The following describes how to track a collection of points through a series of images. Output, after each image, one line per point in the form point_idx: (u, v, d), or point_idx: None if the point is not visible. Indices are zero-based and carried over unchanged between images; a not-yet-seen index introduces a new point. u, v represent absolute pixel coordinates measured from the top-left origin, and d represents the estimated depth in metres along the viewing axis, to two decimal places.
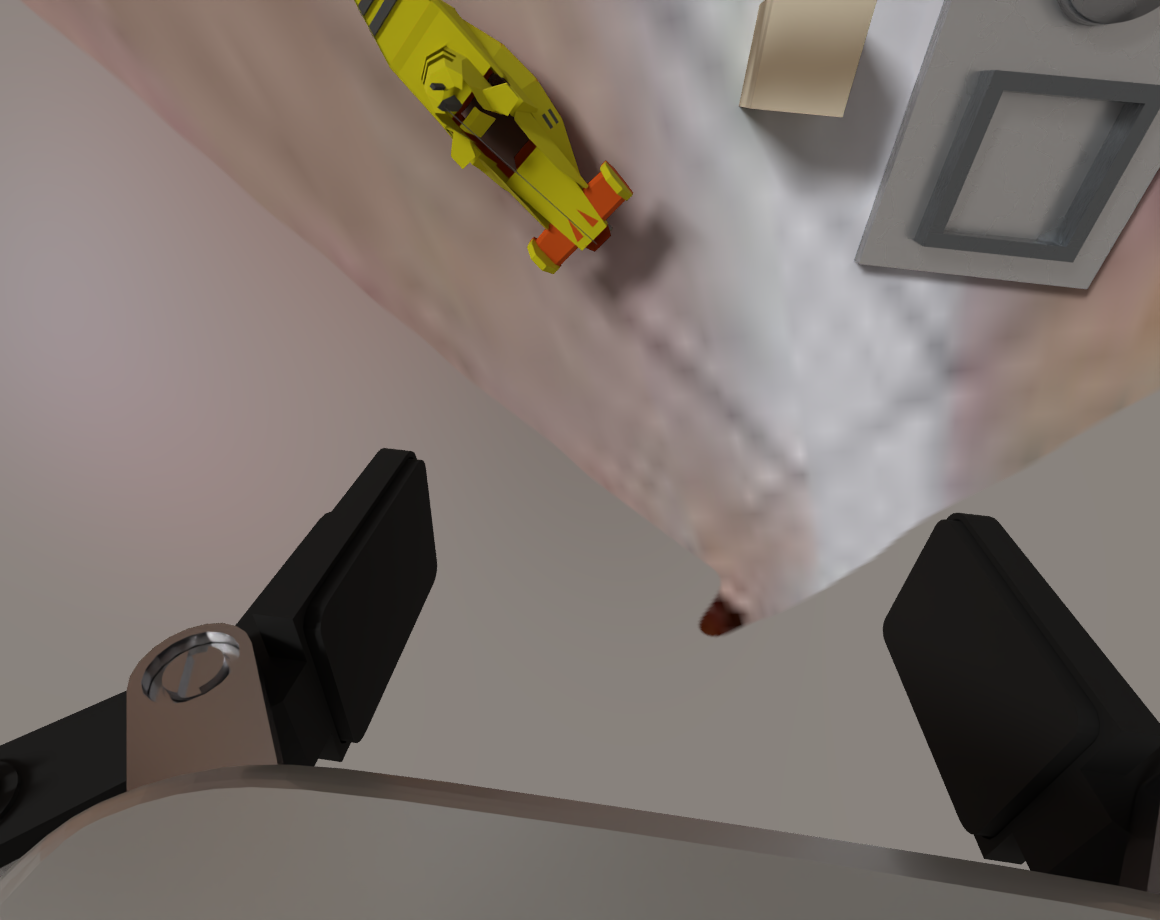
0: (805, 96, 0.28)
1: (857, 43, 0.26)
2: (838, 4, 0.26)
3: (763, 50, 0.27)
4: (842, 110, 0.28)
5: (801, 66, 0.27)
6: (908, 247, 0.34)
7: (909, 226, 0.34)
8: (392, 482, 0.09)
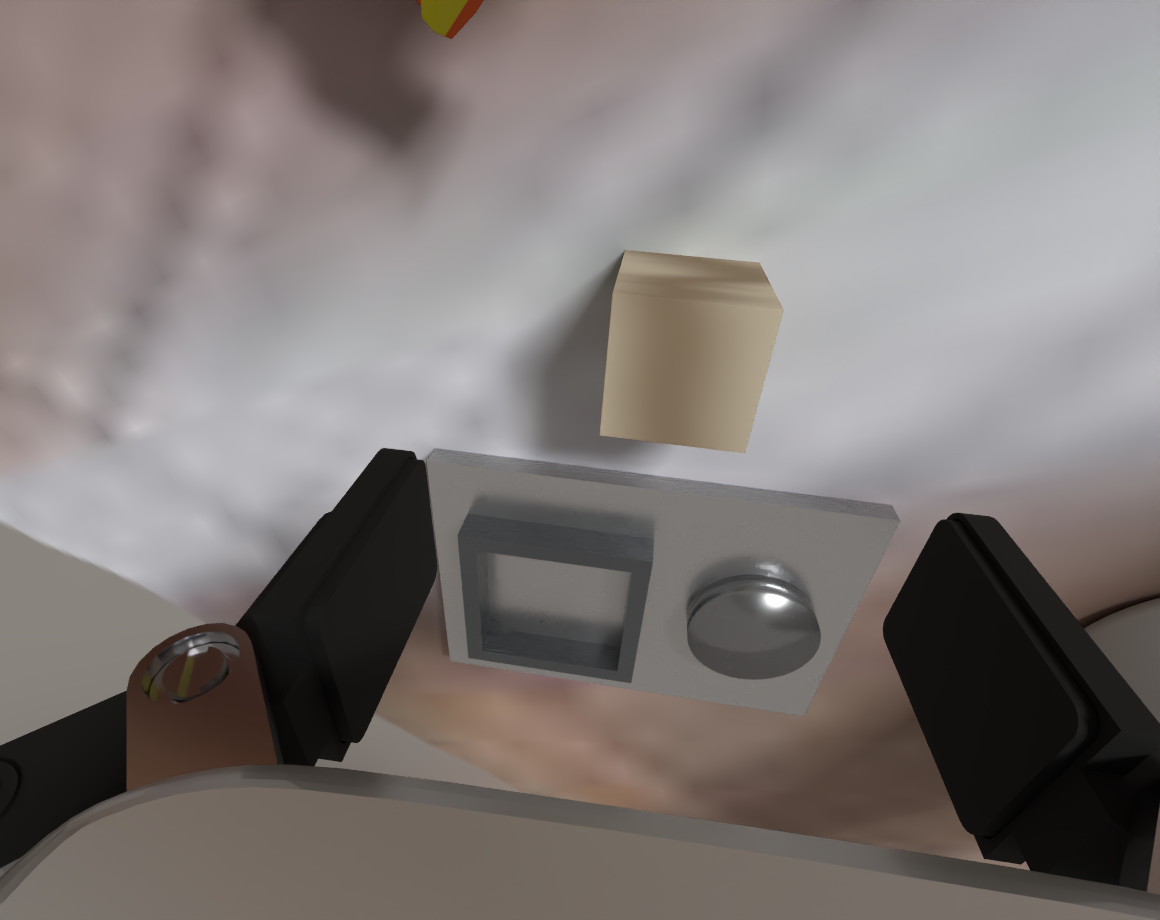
0: (628, 380, 0.17)
1: (694, 438, 0.17)
2: (747, 405, 0.16)
3: (699, 301, 0.15)
4: (608, 433, 0.18)
5: (671, 367, 0.16)
6: (458, 510, 0.26)
7: (483, 506, 0.25)
8: (392, 482, 0.09)
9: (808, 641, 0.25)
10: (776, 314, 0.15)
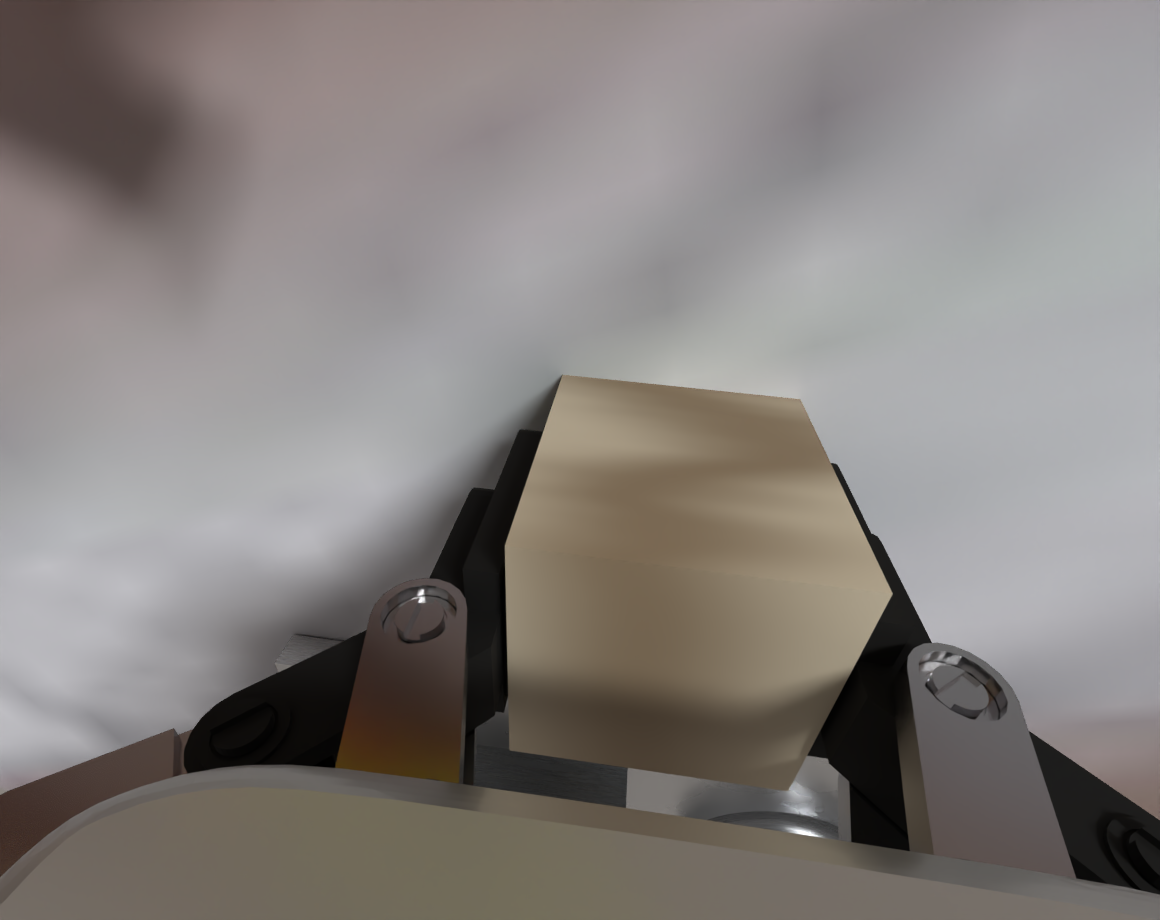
0: (554, 681, 0.08)
1: (690, 767, 0.09)
2: (798, 732, 0.08)
3: (701, 567, 0.07)
4: (526, 749, 0.09)
5: (640, 668, 0.08)
6: None
7: None
8: None
9: None
10: (875, 602, 0.07)
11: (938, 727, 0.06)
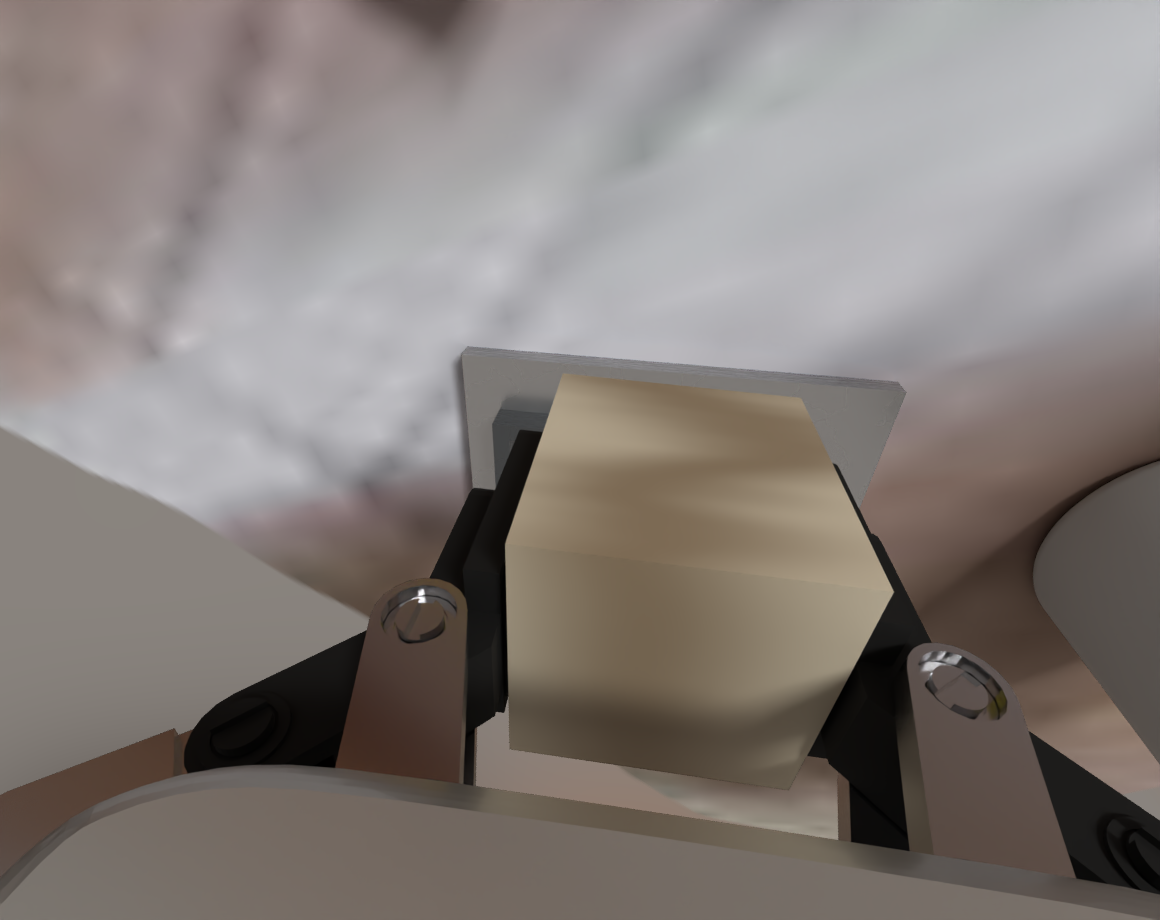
0: (554, 680, 0.08)
1: (690, 766, 0.09)
2: (799, 731, 0.08)
3: (701, 565, 0.07)
4: (526, 748, 0.09)
5: (641, 667, 0.08)
6: (491, 406, 0.27)
7: (514, 400, 0.27)
8: None
9: None
10: (877, 600, 0.07)
11: (938, 727, 0.06)
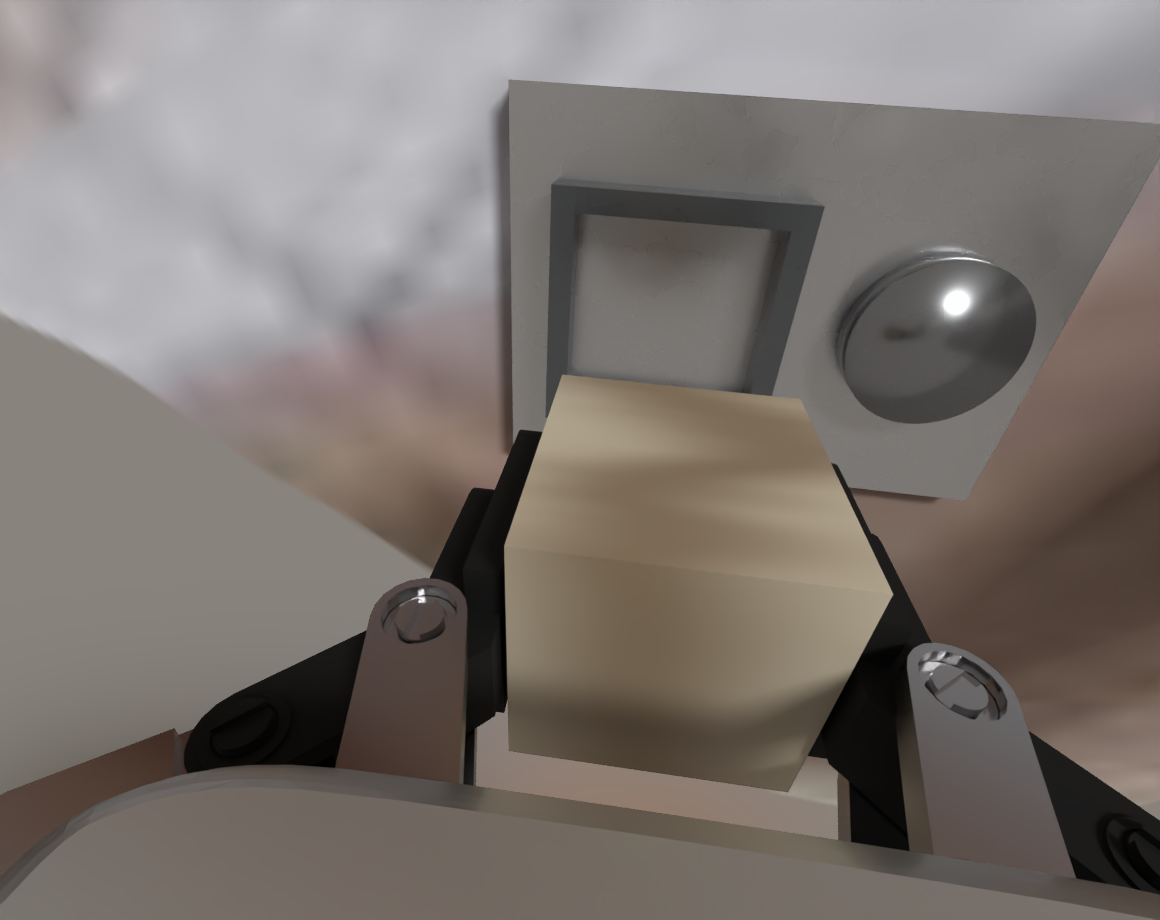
0: (553, 682, 0.08)
1: (690, 767, 0.09)
2: (798, 733, 0.08)
3: (700, 567, 0.07)
4: (525, 750, 0.09)
5: (641, 668, 0.08)
6: (546, 173, 0.19)
7: (581, 161, 0.19)
8: None
9: (1015, 345, 0.19)
10: (876, 602, 0.07)
11: (938, 727, 0.06)
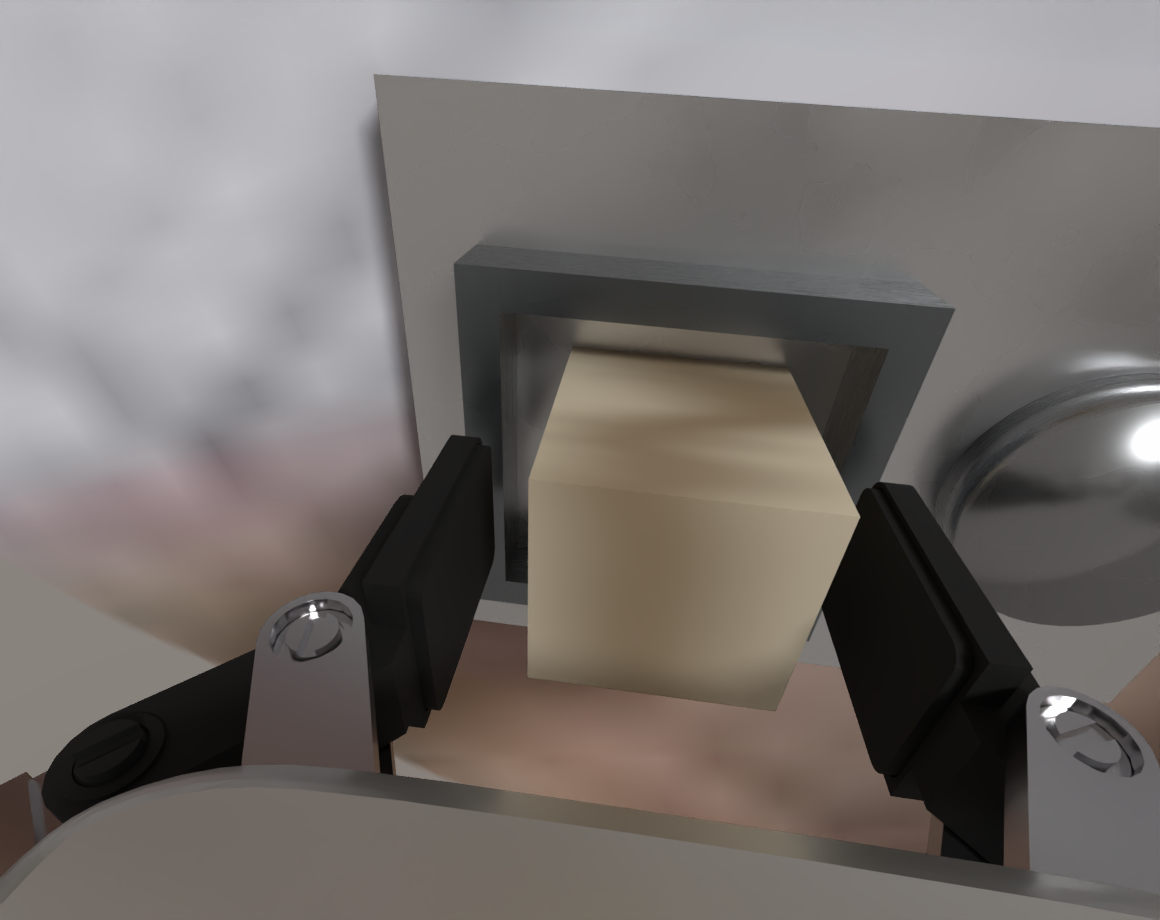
0: (569, 608, 0.09)
1: (688, 689, 0.10)
2: (783, 652, 0.09)
3: (696, 496, 0.08)
4: (542, 676, 0.10)
5: (645, 593, 0.09)
6: (455, 235, 0.11)
7: (513, 217, 0.11)
8: (466, 466, 0.10)
9: None
10: (846, 524, 0.08)
11: (1054, 769, 0.06)
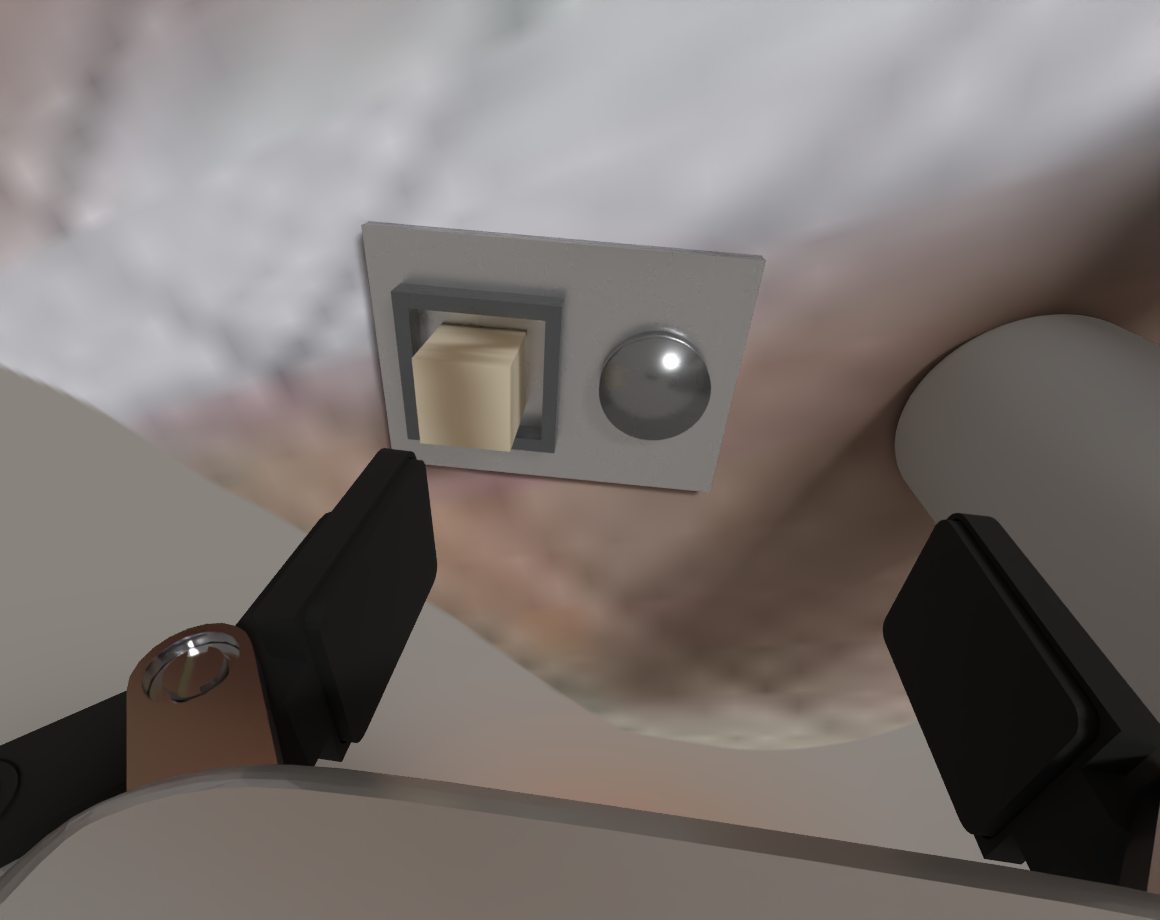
0: (430, 408, 0.27)
1: (478, 443, 0.28)
2: (504, 422, 0.27)
3: (463, 363, 0.26)
4: (425, 442, 0.28)
5: (454, 400, 0.27)
6: (392, 279, 0.29)
7: (414, 273, 0.29)
8: (392, 482, 0.09)
9: (701, 389, 0.30)
10: (506, 370, 0.26)
11: None
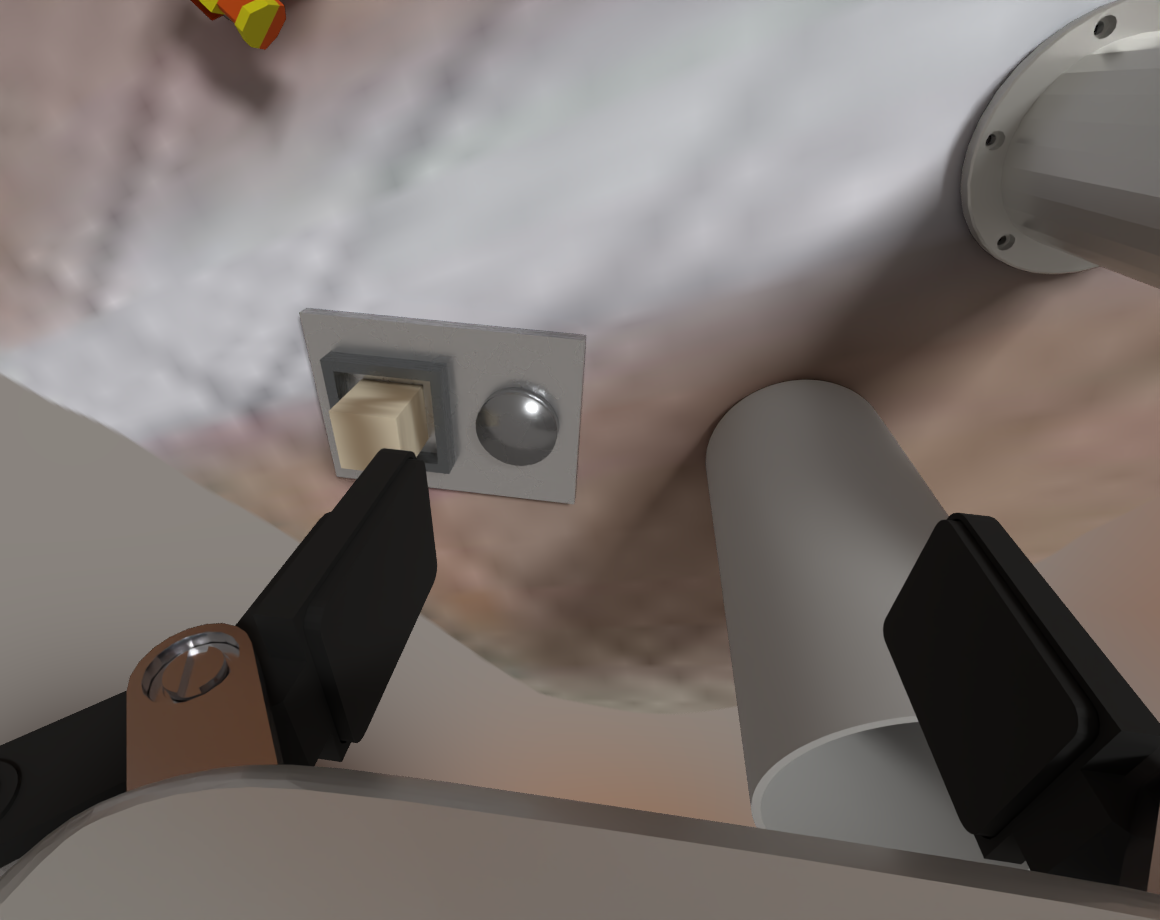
0: (345, 445, 0.38)
1: None
2: None
3: (364, 414, 0.37)
4: (345, 467, 0.39)
5: (361, 439, 0.38)
6: (324, 349, 0.40)
7: (339, 345, 0.40)
8: (392, 482, 0.09)
9: (549, 430, 0.40)
10: (393, 420, 0.36)
11: None
